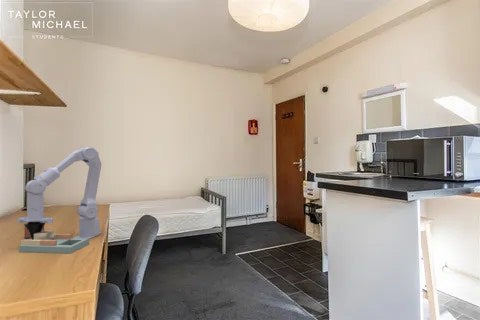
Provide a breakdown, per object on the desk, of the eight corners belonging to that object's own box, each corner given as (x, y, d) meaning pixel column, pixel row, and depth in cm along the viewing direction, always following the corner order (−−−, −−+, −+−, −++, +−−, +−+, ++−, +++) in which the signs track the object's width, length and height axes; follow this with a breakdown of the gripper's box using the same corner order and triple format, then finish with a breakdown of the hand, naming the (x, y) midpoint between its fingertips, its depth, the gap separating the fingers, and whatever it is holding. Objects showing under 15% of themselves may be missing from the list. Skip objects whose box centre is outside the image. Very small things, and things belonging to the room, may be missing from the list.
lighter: (43, 235, 133) (43, 215, 133) (45, 236, 131) (45, 216, 131) (23, 238, 127) (23, 217, 127) (25, 240, 125) (25, 218, 125)
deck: (42, 242, 121) (42, 232, 121) (89, 243, 120) (89, 234, 120) (19, 251, 109) (19, 241, 109) (70, 253, 108) (70, 242, 108)
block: (43, 239, 117) (43, 230, 117) (54, 240, 117) (54, 231, 117) (33, 243, 112) (33, 233, 112) (44, 243, 112) (44, 234, 112)
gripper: (11, 209, 111) (11, 241, 112) (43, 210, 110) (43, 242, 111) (25, 206, 118) (25, 236, 119) (56, 207, 118) (56, 237, 118)
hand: (35, 239), depth 115 cm, fingers closed
